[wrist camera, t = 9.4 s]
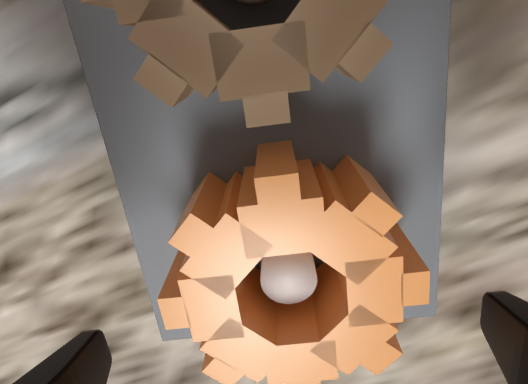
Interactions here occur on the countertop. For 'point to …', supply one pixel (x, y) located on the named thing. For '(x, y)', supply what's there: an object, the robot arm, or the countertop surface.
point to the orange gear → (284, 243)
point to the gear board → (274, 134)
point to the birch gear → (250, 51)
